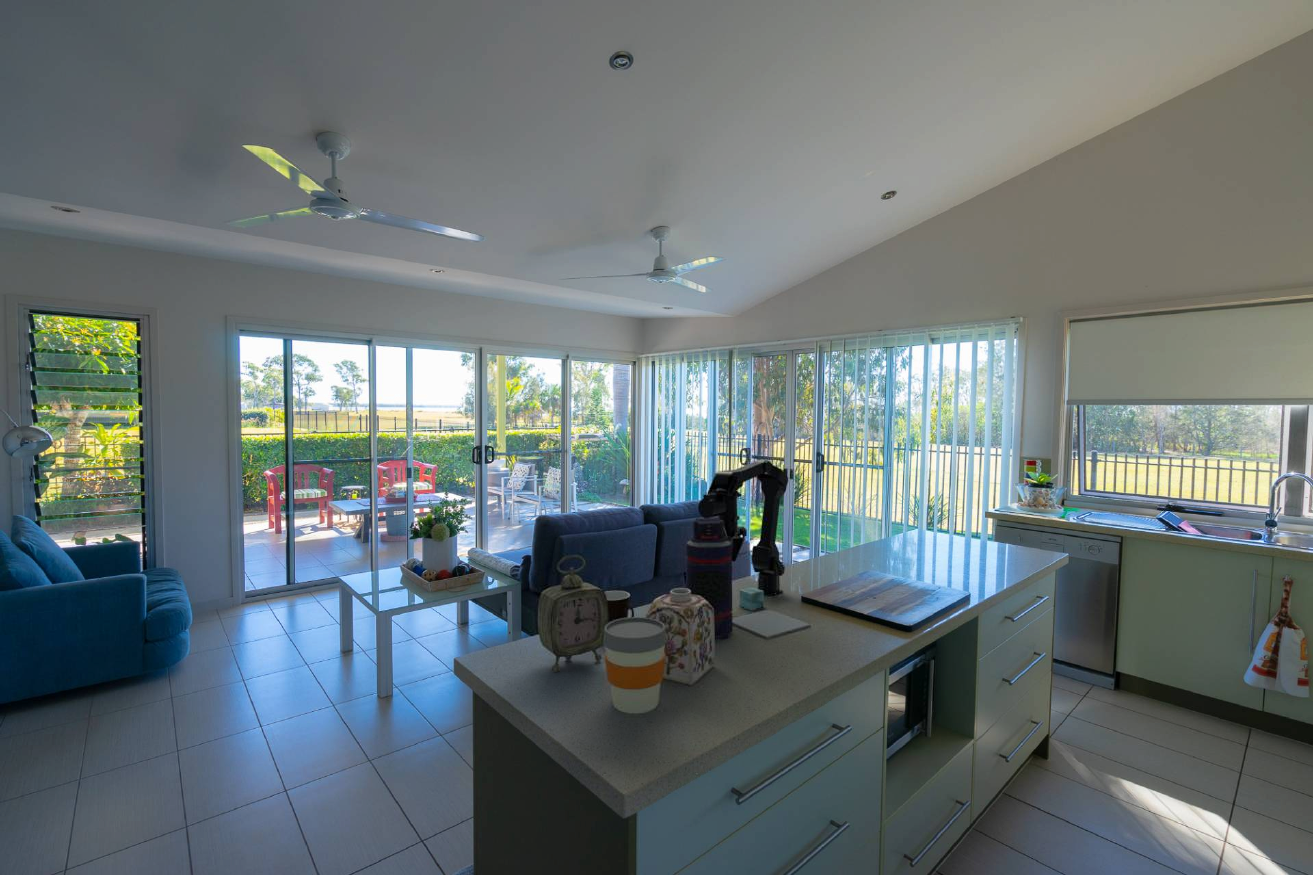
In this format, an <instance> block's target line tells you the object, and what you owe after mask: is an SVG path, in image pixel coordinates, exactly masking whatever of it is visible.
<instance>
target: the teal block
mask: <svg viewBox="0 0 1313 875" xmlns="http://www.w3.org/2000/svg"><path fill="white" fill-rule="evenodd" d="M764 595H765V594H764V591H762V590H759V589H758V588H755V587H751V586H750V587H747V588H742V589H739V607H741V606H742V607H741V608H743V607H744V609H746V608H747V610H750V611H755V610H758V609H757V608H759V609H762V608H761V607H763V608H764V604H765V602H764V601H765V600H764ZM754 609H755V610H754Z"/></svg>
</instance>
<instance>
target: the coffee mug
mask: <svg viewBox="0 0 1313 875" xmlns="http://www.w3.org/2000/svg"><path fill="white" fill-rule="evenodd" d="M604 592H605V594H606V598H607V603H608V614H609V619H608V623H609V622H611V621H614V620H617V619H622V618H629V617H628V616H629V609H630V612H631V617H635V611H634V608H633V607H632V606H631V605H630V597H631V594H630V593H629V592H627V591H625V590H609V591H608V590H607V591H604Z"/></svg>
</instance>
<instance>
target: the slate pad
mask: <svg viewBox="0 0 1313 875" xmlns="http://www.w3.org/2000/svg"><path fill="white" fill-rule="evenodd" d="M732 626H735V627H737V628H740V629H742V630H744V631H745V632H749V633H751V634H754V635H756V636H759V637H761V638H763V639H766V640H769V639H772V637H773V638H775V637H774V636H776V637H779V635H780V636H782V635H781V634H783V635H786V634H788V633H787V632H790V633H792V631H793V632H796V631H795V630H797V631H799V630H803V629H802V628H804V629H807V628H810V627H811V624H810V623H807V622H805V621H802V620H801V619H797V618H794V617H791V616H788V615H785V614H783V613H780V612H777V611H775V610H772V609H769V608H768V609H767V608H766V609H764V610H760V611H755V612H752V613H747V614H744V615H739V616H735V617H732ZM809 626H810V627H809ZM806 627H807V628H806ZM785 633H786V634H785Z"/></svg>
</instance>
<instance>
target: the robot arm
mask: <svg viewBox="0 0 1313 875" xmlns="http://www.w3.org/2000/svg"><path fill="white" fill-rule="evenodd" d="M753 478H756V479H757V480H758V481H759V482H760V489H761V492H762V494H763V496H764V501H763V510H762V517H761V518H762V520H761V527H760V528H761V529H760V537H759V542H758V543H757V544H756V545H753V546H752V553H751V557H750V559H751V564H752V568H753V571H754V573H758V579H757V589H759V590H762V591H764V593H765V594H764V595H766V594H767V595H766V596H773V595H772V594H774V595H776V594H775V593H778V594H781V593H780V592H782V593H784V591H783V590H782V589H780V577H781V576H783V575H784V574H785V569H786V566H784V564H783V562H782V561H781V559H780V551H779V549H778V547H777V543H776V539H777V532H778V531H777V530H778V523H779V522H778V521H779V513H780V504H781V499H782V497H783V496H784V495H785V493H786V492H787V487H788V483H789V476H787V474H786V472H785V471H784V470H782V469H781V468H779V467H778V466H776V465H774V463H772V462H771V461H769V460H767V459H756V460H754V461H753V462H751V463H748V464H746V465H743V466H741V467H738V468H736V469H727V470H718V471H717V472H715V474H714V476H713V478H712V481H711V484H710V486H709V489H708V491H707V492H706V493H705V494H704V493H703V496H702V499H700V500H699V503H698V505H697V511H698V512H699V515H700V516H701V518H720V520H723V521H724V528H725V531H726V534H727V541H730V542H731V543H732V556H731V558H732V563H733V562H734V563H735V562H736V561H737V559H738V557H739V554H740V551H741V549H742V546H743V544H744V542H745V540H746V537H747V535H748V531H747V529H746V528H745V526H741V525H739V523H738V522H739V520H741V519H740V515H738V498H741V497H742V494H741V493H740V492H739V491H738V490H739V489H741V488H742V487H743V486H744V483H745V482H748V481H750V480H752V479H753ZM724 537H726V535H725V532H724Z"/></svg>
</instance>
